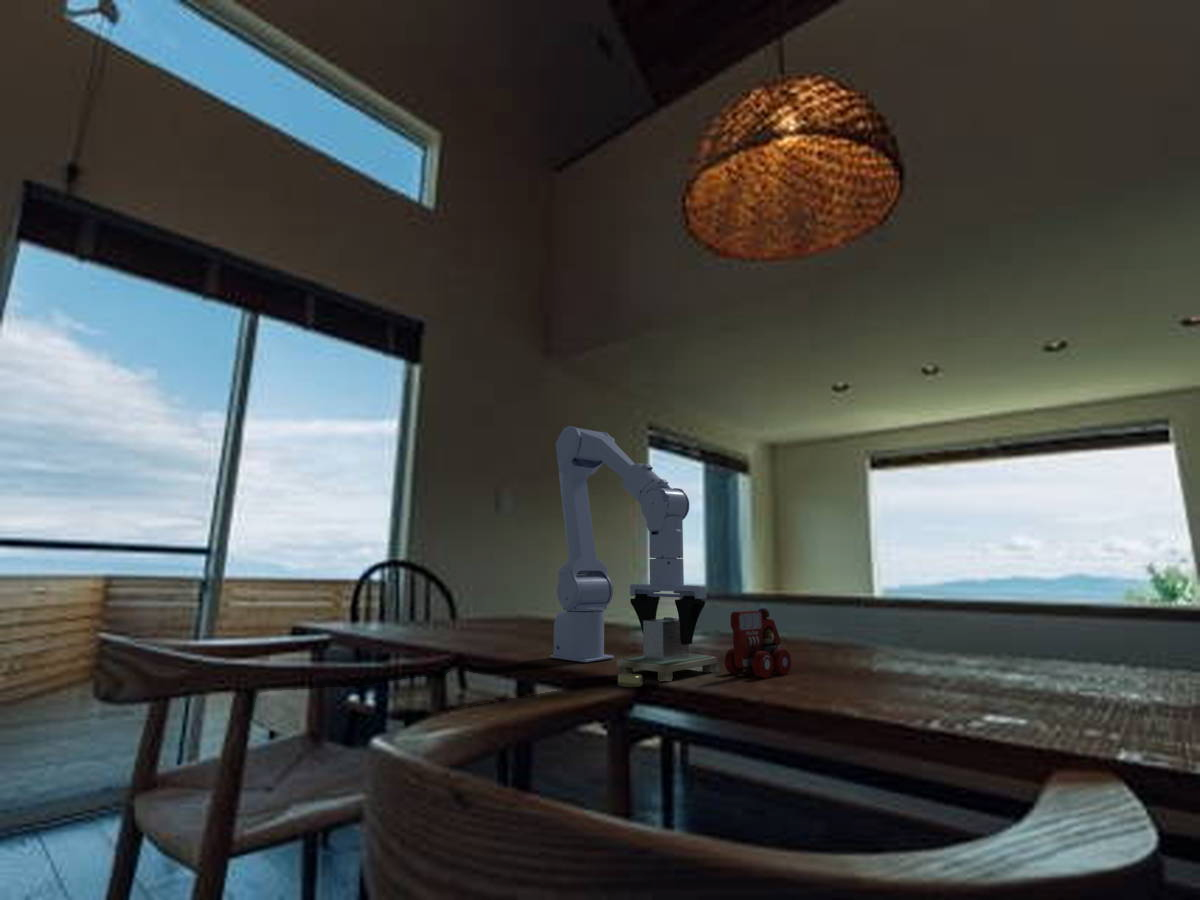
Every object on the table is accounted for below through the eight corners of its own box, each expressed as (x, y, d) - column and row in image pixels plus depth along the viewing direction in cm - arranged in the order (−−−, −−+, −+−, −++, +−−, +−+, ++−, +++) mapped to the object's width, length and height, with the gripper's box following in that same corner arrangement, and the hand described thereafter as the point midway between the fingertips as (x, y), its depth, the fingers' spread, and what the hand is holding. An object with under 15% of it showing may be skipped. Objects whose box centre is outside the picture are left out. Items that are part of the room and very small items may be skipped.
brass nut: (612, 686, 96) (612, 675, 96) (628, 683, 99) (628, 672, 99) (631, 689, 94) (631, 678, 94) (647, 686, 96) (647, 675, 97)
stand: (616, 674, 105) (616, 658, 105) (669, 665, 115) (669, 650, 115) (666, 682, 98) (666, 665, 98) (717, 671, 108) (717, 655, 108)
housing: (643, 658, 105) (643, 618, 106) (669, 654, 110) (668, 616, 111) (663, 661, 103) (662, 620, 104) (688, 656, 108) (688, 617, 109)
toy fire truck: (798, 672, 108) (795, 608, 109) (755, 681, 99) (752, 611, 101) (762, 667, 113) (760, 606, 114) (718, 675, 104) (716, 609, 106)
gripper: (618, 558, 111) (618, 640, 109) (687, 558, 102) (689, 648, 99) (644, 559, 116) (645, 637, 114) (712, 558, 107) (715, 644, 104)
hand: (667, 642), depth 107 cm, fingers open, 7 cm apart
